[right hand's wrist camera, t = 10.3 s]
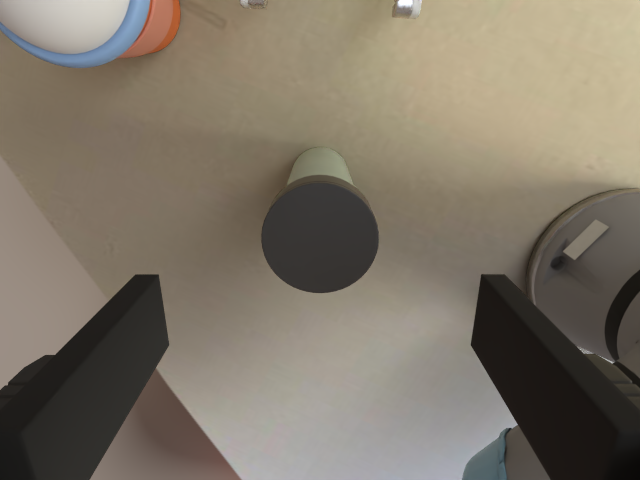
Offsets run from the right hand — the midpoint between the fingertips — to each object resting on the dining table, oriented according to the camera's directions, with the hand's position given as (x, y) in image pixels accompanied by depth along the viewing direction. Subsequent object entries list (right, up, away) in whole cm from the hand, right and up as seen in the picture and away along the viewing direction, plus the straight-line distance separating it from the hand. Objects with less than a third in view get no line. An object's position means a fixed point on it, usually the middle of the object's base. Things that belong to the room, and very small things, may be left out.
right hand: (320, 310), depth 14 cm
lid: (0, +2, +7) cm, 7 cm away
